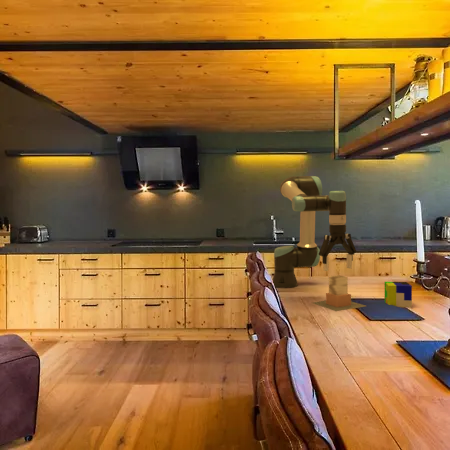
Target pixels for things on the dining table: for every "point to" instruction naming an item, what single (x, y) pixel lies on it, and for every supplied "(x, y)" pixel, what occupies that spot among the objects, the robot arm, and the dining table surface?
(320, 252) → the robot arm
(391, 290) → the puzzle toy
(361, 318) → the dining table surface
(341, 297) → the base block
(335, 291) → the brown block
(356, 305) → the olive square panel
